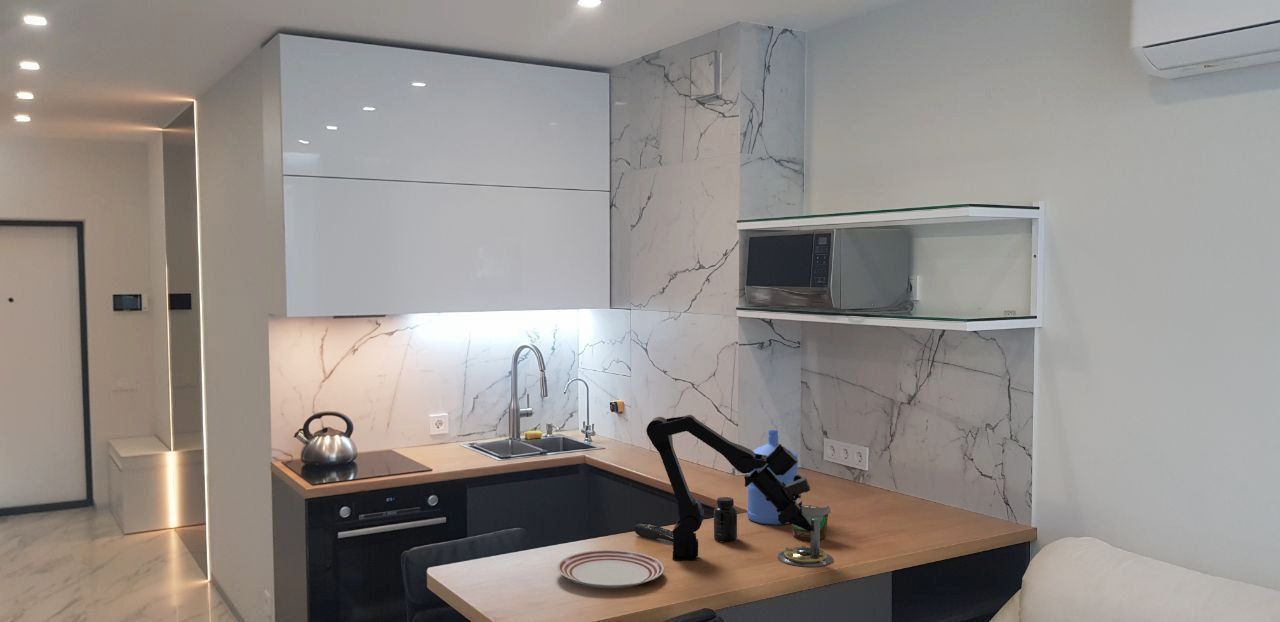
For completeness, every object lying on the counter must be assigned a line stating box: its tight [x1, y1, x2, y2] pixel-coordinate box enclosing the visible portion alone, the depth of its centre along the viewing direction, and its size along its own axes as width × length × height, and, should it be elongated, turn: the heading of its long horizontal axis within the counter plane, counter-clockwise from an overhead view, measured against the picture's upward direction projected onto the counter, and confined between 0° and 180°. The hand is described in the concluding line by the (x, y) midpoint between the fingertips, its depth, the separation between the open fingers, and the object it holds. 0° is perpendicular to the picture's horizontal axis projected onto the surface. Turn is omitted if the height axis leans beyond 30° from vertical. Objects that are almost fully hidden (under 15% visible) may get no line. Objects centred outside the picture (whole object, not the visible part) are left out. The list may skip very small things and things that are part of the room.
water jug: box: [746, 429, 799, 526], centre depth 309 cm, size 16×16×28 cm
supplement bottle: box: [713, 496, 738, 543], centre depth 286 cm, size 7×7×12 cm
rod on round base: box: [783, 518, 828, 563], centre depth 268 cm, size 12×12×12 cm
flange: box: [777, 547, 834, 568], centre depth 268 cm, size 15×15×2 cm
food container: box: [791, 504, 832, 543], centre depth 286 cm, size 12×6×10 cm, turn 70°
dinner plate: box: [556, 549, 665, 590], centre depth 252 cm, size 27×27×3 cm
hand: (811, 530), depth 263 cm, fingers closed
